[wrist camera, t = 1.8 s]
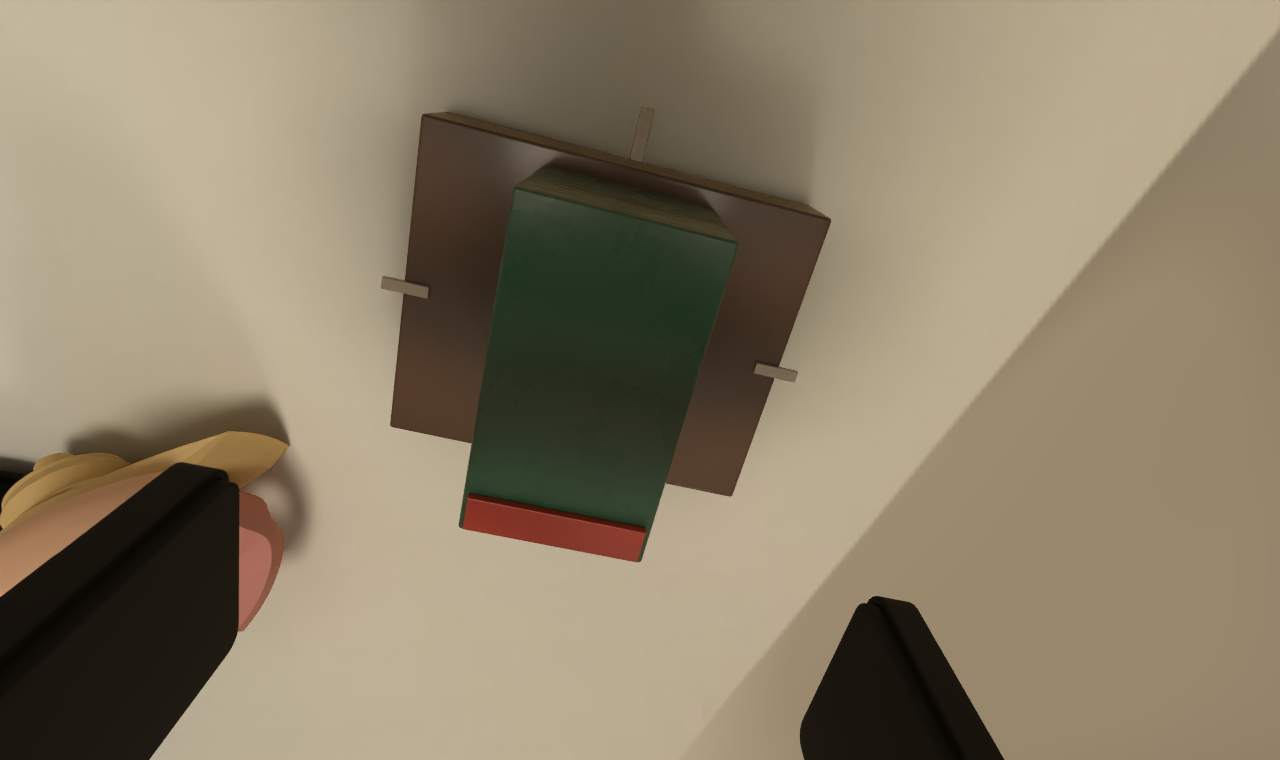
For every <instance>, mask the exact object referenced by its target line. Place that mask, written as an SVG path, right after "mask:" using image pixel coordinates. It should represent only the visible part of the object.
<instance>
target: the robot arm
mask: <svg viewBox="0 0 1280 760" xmlns="http://www.w3.org/2000/svg"><path fill="white" fill-rule="evenodd" d="M239 503H240V492H239V487H238V485H237V484H236V483H233V482H229V476H228V474H227V472H226V471H224V470H222V469H216V468H211V467H206V466H201V465H196V464H190V463H185V462H178V463H175V464H174V465H172V466H170V467H169V468H168V469H166V470H165V471H164V472H162V473H161V474H160V475H159V476H157V477H156V478H155V479H153V480H152V481H151V482H150V483H148V484H147V485H146V486H144V487H143V488H142V489H140V490H139V491H138V492H137V493H135V494H134V495H133V496H131V497H130V498H129V499H128V500H126V501H125V502H124V503H122V504H121V505H120V506H118V507H117V508H116V509H115V510H113V511H112V512H111V513H109V514H108V515H107V516H106V517H104V518H103V519H102V520H100V521H99V522H98V523H96V524H95V525H94V526H93V527H91V528H90V529H89V530H87V531H86V532H85V533H84V534H82V535H81V536H80V537H78V538H77V539H76V540H74V541H73V542H72V543H71V544H69V545H68V546H67V547H65V548H64V549H63V550H62V551H60V552H59V553H58V554H56V555H54V556H53V557H51V558H50V559H49V560H48V561H46V562H45V563H44V564H42V565H41V566H40V567H38V568H37V569H36V570H35V571H33V572H32V573H31V574H29V575H28V576H27V577H26V578H24V579H23V580H22V581H20V582H19V583H18V584H16V585H15V586H14V587H13V588H11V589H10V590H9V591H7V592H6V593H5V594H3V595H2V596H1V597H0V760H149V759H150V758H151V757H152V755H153V754H154V752H155V751H156V750H157V748H158V747H159V746H160V744H161V743H162V742H163V740H164V739H165V738H166V736H167V735H168V734H169V732H170V731H171V730H172V728H173V727H174V726H175V724H176V723H177V721H178V720H179V719H180V717H181V716H182V715H183V713H184V712H185V711H186V709H187V708H188V707H189V705H190V704H191V703H192V701H193V700H194V699H195V697H196V696H197V695H198V693H199V692H200V690H201V689H202V688H203V686H204V685H205V684H206V682H207V681H208V680H209V678H210V677H211V676H212V674H213V673H214V672H215V670H216V669H217V668H218V666H219V665H220V664H221V662H222V661H223V660H224V658H225V657H226V655H227V654H228V652H229V651H230V649H231V648H232V646H233V644H234V641H235V639H236V636H237V632H238V627H239ZM800 744H801V748H802V753H803V756H804V760H1004V758H1003V757H1002V755H1001V754H1000V752H999V750H998V748H997V746H996V744H995V743H994V741H993V739H992V738H991V736H990V734H989V732H988V731H987V729H986V727H985V726H984V724H983V722H982V720H981V718H980V717H979V715H978V713H977V711H976V710H975V708H974V706H973V704H972V703H971V701H970V699H969V698H968V696H967V694H966V692H965V691H964V689H963V687H962V685H961V684H960V682H959V680H958V678H957V677H956V675H955V673H954V671H953V670H952V668H951V666H950V665H949V663H948V661H947V659H946V658H945V656H944V654H943V652H942V651H941V649H940V647H939V646H938V644H937V642H936V641H935V639H934V637H933V635H932V634H931V632H930V630H929V628H928V626H927V625H926V623H925V621H924V619H923V618H922V616H921V614H920V613H919V611H918V609H917V608H916V607H915V605H913V604H912V603H910V602H905V601H900V600H895V599H890V598H884V597H880V596H875V597H872V598H871V599H869V601H868V602H867V604H866V603H862V604H860V605H859V606H858V607H857V608H856V610H855V612H854V614H853V616H852V618H851V620H850V623H849V625H848V627H847V629H846V631H845V633H844V635H843V637H842V639H841V641H840V643H839V645H838V648H837V650H836V652H835V654H834V656H833V658H832V660H831V662H830V664H829V666H828V668H827V671H826V672H825V675H824V677H823V679H822V681H821V683H820V685H819V687H818V689H817V691H816V693H815V695H814V697H813V700H812V702H811V704H810V706H809V708H808V710H807V712H806V714H805V716H804V718H803V721H802V724H801V729H800Z"/></svg>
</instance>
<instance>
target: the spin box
mask: <svg viewBox="0 0 1280 760" xmlns="http://www.w3.org/2000/svg"><path fill="white" fill-rule="evenodd" d="M738 246H739V244H738V242H737V240H736V239H735V237H734V236H733V235H732V233H731V232H730V231H729V229H728V228H727V226H726V225H725V224H724V222H723V221H722V220H721V218H720V217H719V215H718V214H717V213H716V211H715V210H714V209H713V208H712V207H710V206H706V205H702V204H698V203H694V202H690V201H686V200H682V199H678V198H674V197H670V196H666V195H663V194H659V193H655V192H651V191H647V190H643V189H639V188H635V187H631V186H627V185H623V184H619V183H615V182H611V181H608V180H604V179H600V178H596V177H592V176H588V175H584V174H580V173H576V172H572V171H568V170H564V169H560V168H557V167H553V166H549V165H543V166H542V167H541V168H539V169H538V170H537V171H535V172H534V173H532V174H531V175H530V176H528V177H527V178H526V179H524V180H523V181H522V182H520V183H519V184H517V185H516V186H515V187H514V188H513V191H512V197H511V204H510V210H509V216H508V222H507V228H506V235H505V241H504V247H503V253H502V259H501V266H500V272H499V278H498V284H497V290H496V297H495V303H494V309H493V315H492V321H491V327H490V334H489V340H488V346H487V352H486V358H485V365H484V371H483V377H482V383H481V389H480V396H479V402H478V408H477V414H476V420H475V427H474V433H473V439H472V445H471V451H470V458H469V464H468V470H467V476H466V482H465V489H464V495H463V501H462V507H461V513H460V520H459V527H460V528H463V529H466V530H471V531H476V532H482V533H487V534H492V535H497V536H503V537H508V538H513V539H518V540H523V541H529V542H534V543H539V544H544V545H549V546H555V547H560V548H565V549H570V550H576V551H581V552H586V553H591V554H596V555H602V556H607V557H612V558H617V559H622V560H628V561H633V562H640V561H641V560H642V557H643V554H644V550H645V547H646V544H647V541H648V537H649V534H650V531H651V528H652V524H653V521H654V518H655V515H656V511H657V508H658V505H659V502H660V499H661V495H662V492H663V489H664V486H665V482H666V479H667V476H668V473H669V469H670V466H671V463H672V460H673V456H674V453H675V450H676V447H677V443H678V440H679V437H680V434H681V431H682V427H683V424H684V421H685V418H686V414H687V411H688V408H689V405H690V401H691V398H692V395H693V392H694V388H695V385H696V382H697V379H698V375H699V372H700V369H701V366H702V362H703V359H704V356H705V353H706V350H707V346H708V343H709V340H710V337H711V333H712V330H713V327H714V324H715V320H716V317H717V314H718V311H719V307H720V304H721V301H722V298H723V294H724V291H725V288H726V285H727V282H728V278H729V275H730V272H731V269H732V265H733V262H734V259H735V256H736V252H737V249H738Z"/></svg>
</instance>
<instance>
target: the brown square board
mask: <svg viewBox="0 0 1280 760" xmlns="http://www.w3.org/2000/svg"><path fill="white" fill-rule="evenodd" d="M653 114H654V110H652V109H649V108H645V107H641V111H640V116H639V120H638V124H637V129H636V133H635V137H634V142H633V146H632V151H631V155H630V159H627V158H623V157H619V156H615V155H611V154H607V153H604V152H600V151H596V150H592V149H588V148H584V147H580V146H577V145H573V144H569V143H565V142H561V141H557V140H553V139H550V138H546V137H542V136H538V135H534V134H530V133H526V132H523V131H519V130H515V129H511V128H507V127H503V126H499V125H496V124H492V123H488V122H484V121H480V120H476V119H472V118H469V117H465V116H461V115H457V114H453V113H449V112H442V113H428V114H423V115H422V117H421V127H420V137H419V147H418V157H417V167H416V177H415V186H414V196H413V206H412V216H411V226H410V236H409V245H408V255H407V265H406V275H405V281H404V280H399V279H395V278H391V277H386V276H383V277H382V286H381V288H382V289H387V290H391V291H396V292H400V293H404V295H403V304H402V314H401V324H400V334H399V344H398V354H397V363H396V373H395V383H394V393H393V403H392V413H391V422H390V425H391V427H395V428H400V429H405V430H409V431H414V432H419V433H424V434H429V435H434V436H438V437H443V438H448V439H453V440H458V441H463V442H468V443H472V439H473V433H474V427H475V420H476V414H477V408H478V402H479V396H480V389H481V383H482V377H483V371H484V365H485V358H486V352H487V346H488V340H489V334H490V327H491V321H492V315H493V309H494V303H495V297H496V290H497V284H498V278H499V272H500V266H501V259H502V253H503V247H504V241H505V235H506V228H507V222H508V216H509V210H510V204H511V197H512V191H513V188H514V187H515V186H516V185H517V184H519V183H520V182H522V181H523V180H524V179H526V178H527V177H528V176H530V175H531V174H532V173H534V172H535V171H537V170H538V169H539V168H541V167H542V166H543V165H549V166H553V167H557V168H560V169H564V170H568V171H572V172H576V173H580V174H584V175H588V176H592V177H596V178H600V179H604V180H608V181H611V182H615V183H619V184H623V185H627V186H631V187H635V188H639V189H643V190H647V191H651V192H655V193H659V194H663V195H666V196H670V197H674V198H678V199H682V200H686V201H690V202H694V203H698V204H702V205H706V206H710V207H712V208H713V209H714V210H715V211H716V213H717V214H718V215H719V217H720V218H721V220H722V221H723V222H724V224H725V225H726V226H727V228H728V229H729V231H730V232H731V233H732V235H733V236H734V237H735V239H736V240H737V242H738V244H739V246H738V249H737V252H736V256H735V259H734V262H733V265H732V269H731V272H730V275H729V278H728V282H727V285H726V288H725V291H724V294H723V298H722V301H721V304H720V307H719V311H718V314H717V317H716V320H715V324H714V327H713V330H712V333H711V337H710V340H709V343H708V346H707V350H706V353H705V356H704V359H703V362H702V366H701V369H700V372H699V375H698V379H697V382H696V385H695V388H694V392H693V395H692V398H691V401H690V405H689V408H688V411H687V414H686V418H685V421H684V424H683V427H682V431H681V434H680V437H679V440H678V443H677V447H676V450H675V453H674V456H673V460H672V463H671V466H670V469H669V473H668V476H667V479H666V482H665V483H667V484H671V485H676V486H681V487H686V488H691V489H696V490H701V491H705V492H710V493H715V494H720V495H725V496H732V494H733V492H734V489H735V486H736V483H737V481H738V478H739V475H740V472H741V469H742V467H743V464H744V461H745V458H746V456H747V453H748V450H749V447H750V445H751V442H752V439H753V436H754V433H755V431H756V428H757V425H758V422H759V420H760V417H761V414H762V411H763V409H764V406H765V403H766V400H767V397H768V395H769V392H770V389H771V386H772V384H773V381H774V378H777V379H781V380H786V381H790V382H795V380H796V377H797V374H798V372H797V371H795V370H790V369H786V368H782V367H779V364H780V361H781V359H782V356H783V353H784V350H785V348H786V345H787V342H788V339H789V337H790V334H791V331H792V328H793V325H794V323H795V320H796V317H797V314H798V312H799V309H800V306H801V303H802V301H803V298H804V295H805V292H806V290H807V287H808V284H809V281H810V278H811V276H812V273H813V270H814V267H815V265H816V262H817V259H818V256H819V254H820V251H821V248H822V245H823V242H824V240H825V237H826V234H827V231H828V229H829V226H830V223H831V219H830V218H828V217H827V216H825V215H824V214H822V213H820V212H819V211H817V210H815V209H814V208H812V207H810V206H808V205H804V204H800V203H796V202H792V201H789V200H785V199H781V198H777V197H773V196H769V195H765V194H762V193H758V192H754V191H750V190H746V189H742V188H738V187H735V186H731V185H727V184H723V183H719V182H715V181H711V180H708V179H704V178H700V177H696V176H692V175H688V174H684V173H681V172H677V171H673V170H669V169H665V168H661V167H658V166H654V165H650V164H646V163H642V161H643V156H644V152H645V148H646V144H647V140H648V135H649V131H650V127H651V123H652V118H653Z"/></svg>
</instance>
